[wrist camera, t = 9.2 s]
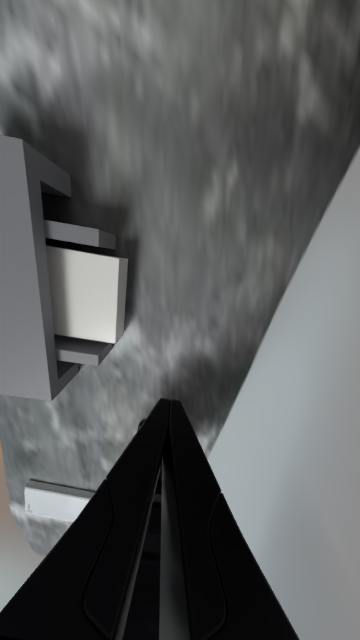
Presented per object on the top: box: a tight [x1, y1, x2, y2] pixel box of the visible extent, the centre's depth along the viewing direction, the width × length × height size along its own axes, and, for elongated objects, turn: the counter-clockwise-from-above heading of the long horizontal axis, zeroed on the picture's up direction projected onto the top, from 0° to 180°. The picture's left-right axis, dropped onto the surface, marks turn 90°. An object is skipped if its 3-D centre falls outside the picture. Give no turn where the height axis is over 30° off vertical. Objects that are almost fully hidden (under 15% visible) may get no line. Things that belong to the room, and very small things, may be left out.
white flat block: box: [46, 244, 128, 344], centre depth 16 cm, size 8×10×2 cm
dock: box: [0, 135, 116, 401], centre depth 15 cm, size 20×10×5 cm, turn 171°
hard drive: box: [25, 480, 94, 522], centre depth 30 cm, size 2×8×12 cm
